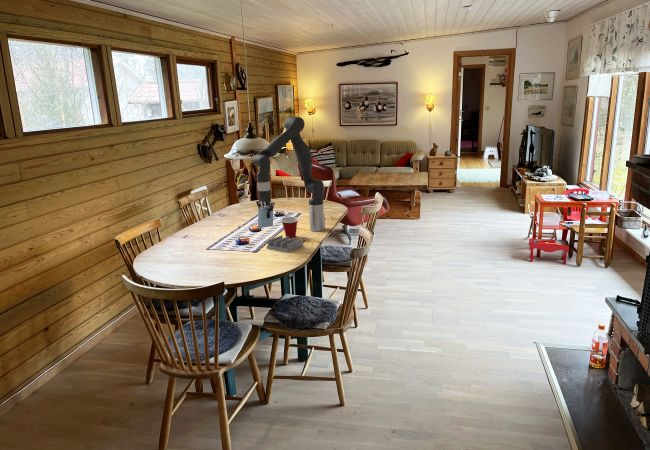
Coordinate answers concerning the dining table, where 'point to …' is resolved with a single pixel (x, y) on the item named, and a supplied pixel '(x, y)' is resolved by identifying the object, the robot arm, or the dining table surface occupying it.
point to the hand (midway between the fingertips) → (266, 217)
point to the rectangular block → (264, 218)
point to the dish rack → (284, 244)
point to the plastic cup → (290, 226)
